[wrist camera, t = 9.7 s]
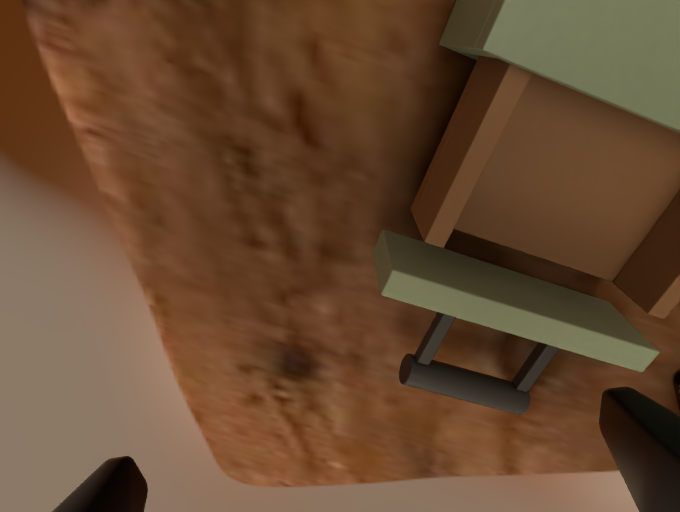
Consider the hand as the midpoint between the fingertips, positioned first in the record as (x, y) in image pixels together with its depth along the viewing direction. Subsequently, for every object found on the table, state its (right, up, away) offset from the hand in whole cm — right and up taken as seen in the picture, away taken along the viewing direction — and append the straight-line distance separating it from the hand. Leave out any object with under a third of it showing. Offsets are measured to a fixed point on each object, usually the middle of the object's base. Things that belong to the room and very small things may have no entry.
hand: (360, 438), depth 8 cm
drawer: (+8, +5, +11) cm, 15 cm away
